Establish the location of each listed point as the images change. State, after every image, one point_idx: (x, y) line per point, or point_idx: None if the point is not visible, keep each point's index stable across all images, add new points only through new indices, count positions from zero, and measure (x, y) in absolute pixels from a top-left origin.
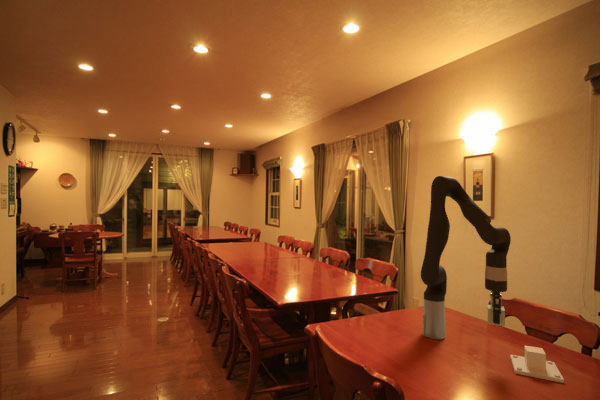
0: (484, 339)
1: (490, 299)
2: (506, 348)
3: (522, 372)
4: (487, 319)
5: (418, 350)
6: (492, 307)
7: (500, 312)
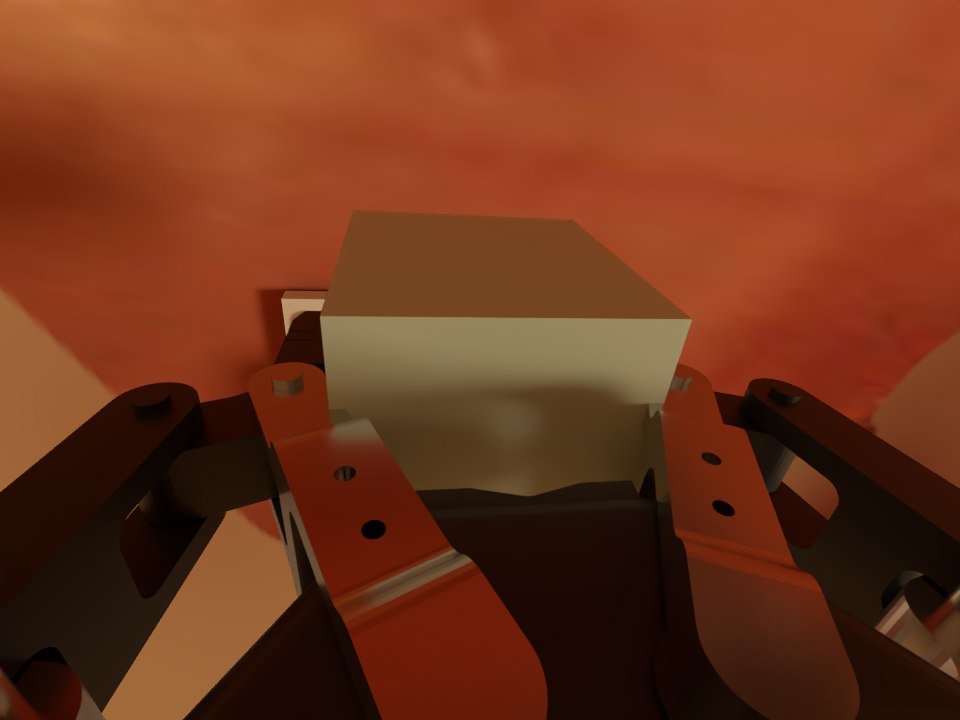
0: (801, 168)
1: (727, 479)
2: (666, 289)
3: (286, 332)
4: (491, 223)
5: None
6: (474, 408)
7: (138, 524)
